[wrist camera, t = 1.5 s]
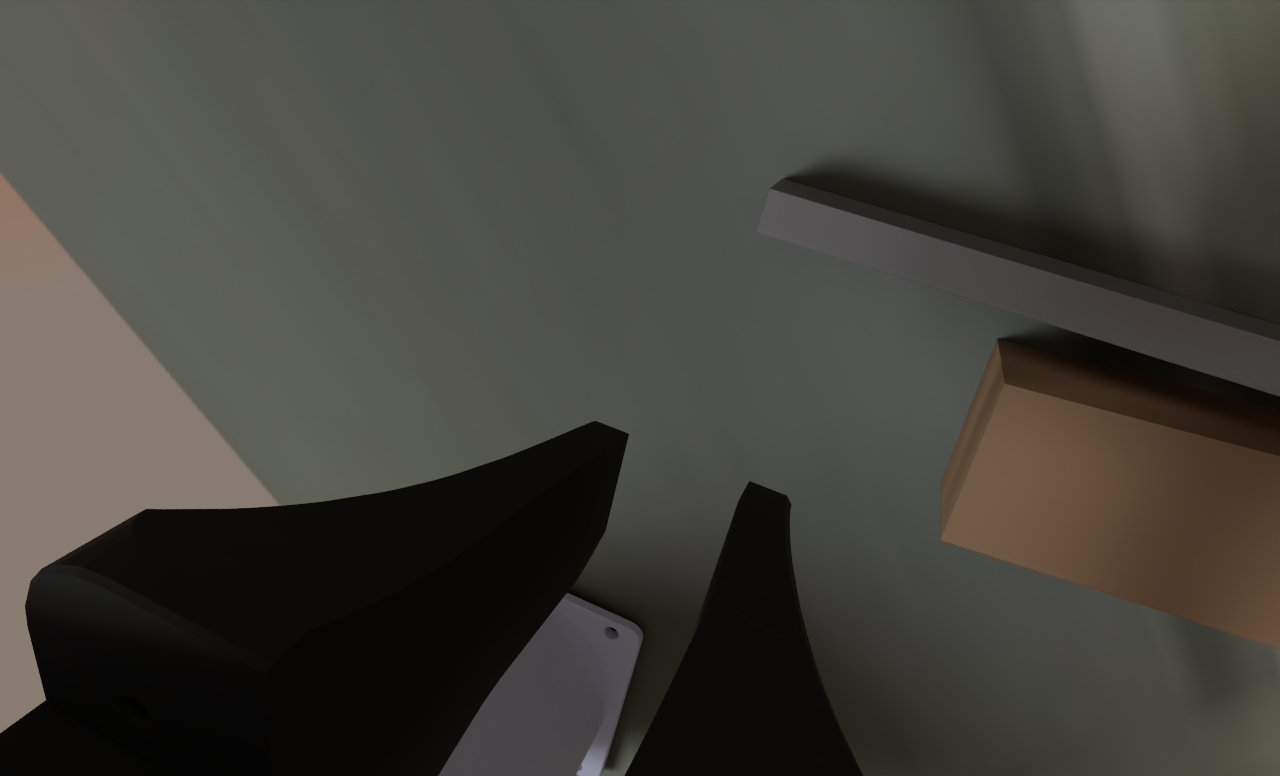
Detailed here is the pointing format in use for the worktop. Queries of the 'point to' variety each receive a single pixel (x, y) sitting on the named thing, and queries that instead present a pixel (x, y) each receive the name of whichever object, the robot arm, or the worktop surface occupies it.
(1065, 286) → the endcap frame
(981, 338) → the worktop surface
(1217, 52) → the worktop surface
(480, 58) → the worktop surface
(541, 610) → the robot arm
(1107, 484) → the brown rectangular block
